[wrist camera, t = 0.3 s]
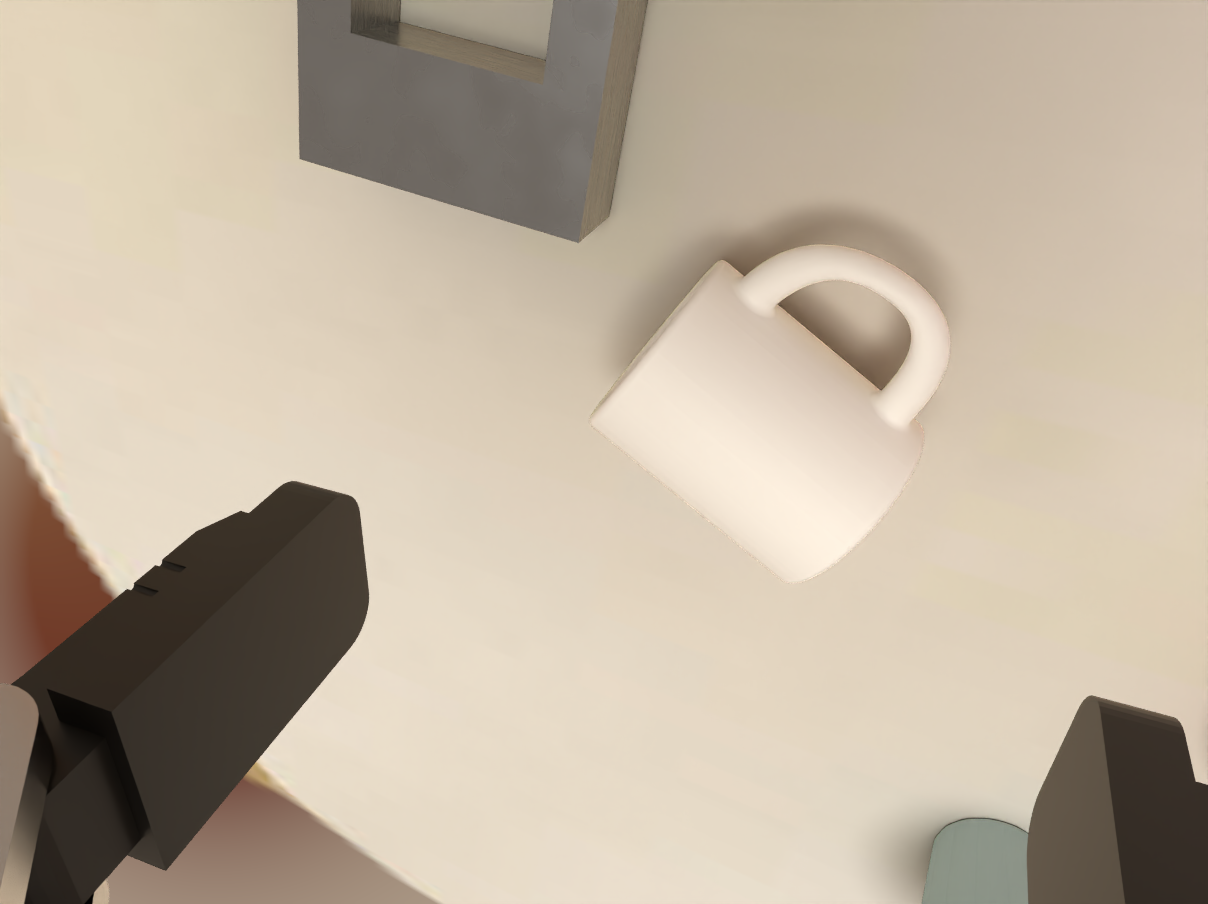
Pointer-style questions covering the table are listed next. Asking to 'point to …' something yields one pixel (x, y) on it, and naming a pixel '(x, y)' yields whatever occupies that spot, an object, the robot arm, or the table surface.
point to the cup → (978, 864)
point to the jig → (472, 109)
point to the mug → (778, 410)
